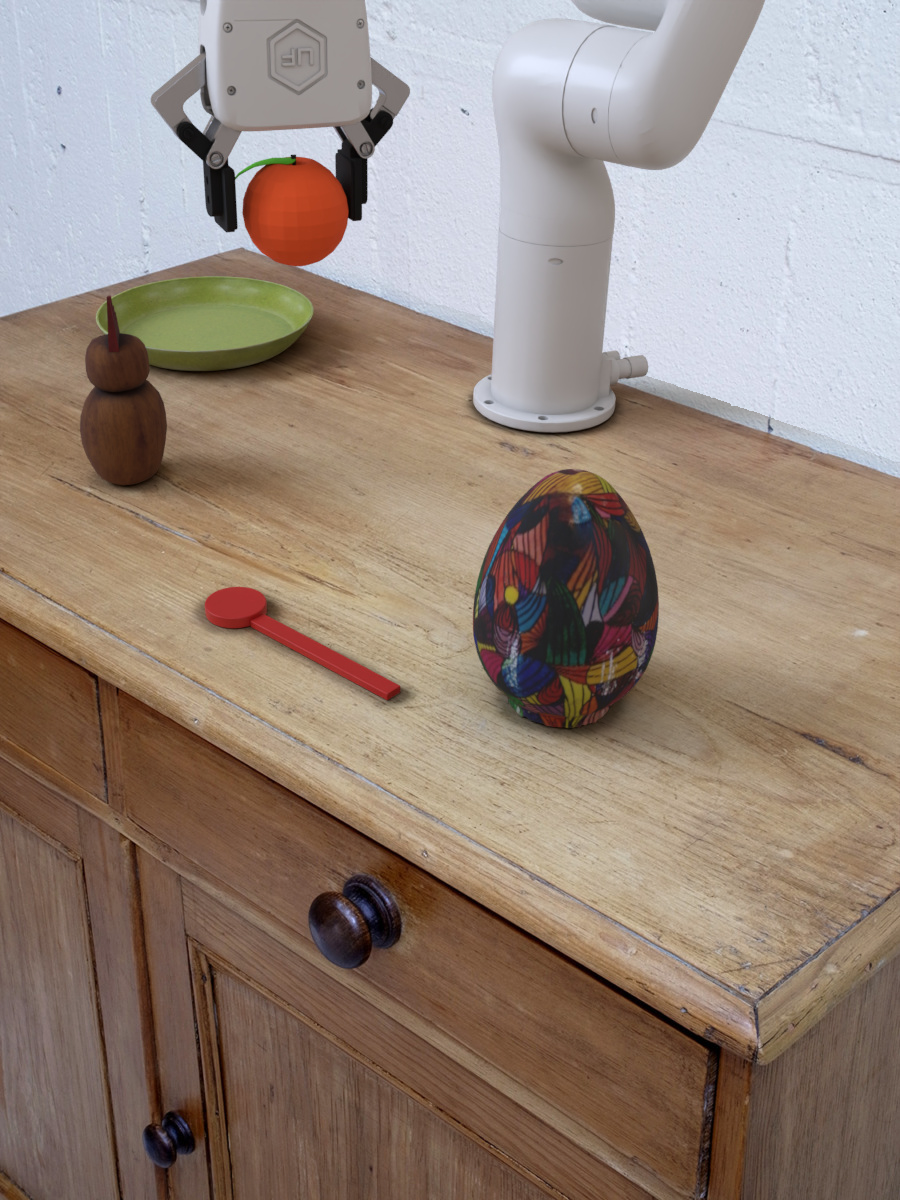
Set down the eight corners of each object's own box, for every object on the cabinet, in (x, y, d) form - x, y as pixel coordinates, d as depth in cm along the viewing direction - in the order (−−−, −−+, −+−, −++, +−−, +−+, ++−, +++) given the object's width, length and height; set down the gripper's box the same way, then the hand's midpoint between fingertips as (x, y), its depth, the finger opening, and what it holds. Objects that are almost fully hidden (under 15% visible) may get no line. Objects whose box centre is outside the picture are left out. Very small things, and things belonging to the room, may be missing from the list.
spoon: (416, 682, 80) (416, 671, 80) (371, 711, 77) (371, 700, 77) (238, 590, 89) (237, 579, 88) (192, 613, 86) (191, 602, 86)
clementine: (229, 282, 84) (220, 169, 81) (230, 250, 90) (222, 143, 87) (353, 278, 85) (350, 166, 82) (346, 247, 91) (343, 141, 87)
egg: (632, 649, 84) (658, 433, 76) (661, 753, 75) (693, 520, 67) (465, 648, 83) (474, 431, 75) (474, 753, 74) (484, 519, 66)
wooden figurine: (147, 498, 100) (127, 306, 92) (76, 489, 100) (50, 299, 93) (181, 461, 105) (164, 277, 97) (113, 453, 106) (92, 270, 98)
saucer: (141, 299, 138) (138, 269, 136) (334, 314, 136) (334, 283, 134) (65, 372, 120) (61, 339, 119) (285, 390, 118) (284, 356, 116)
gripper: (146, -72, 71) (171, 249, 80) (439, -73, 78) (432, 225, 87) (116, -84, 77) (143, 217, 86) (391, -83, 83) (389, 197, 93)
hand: (288, 219), depth 86 cm, fingers closed on clementine, 8 cm apart
